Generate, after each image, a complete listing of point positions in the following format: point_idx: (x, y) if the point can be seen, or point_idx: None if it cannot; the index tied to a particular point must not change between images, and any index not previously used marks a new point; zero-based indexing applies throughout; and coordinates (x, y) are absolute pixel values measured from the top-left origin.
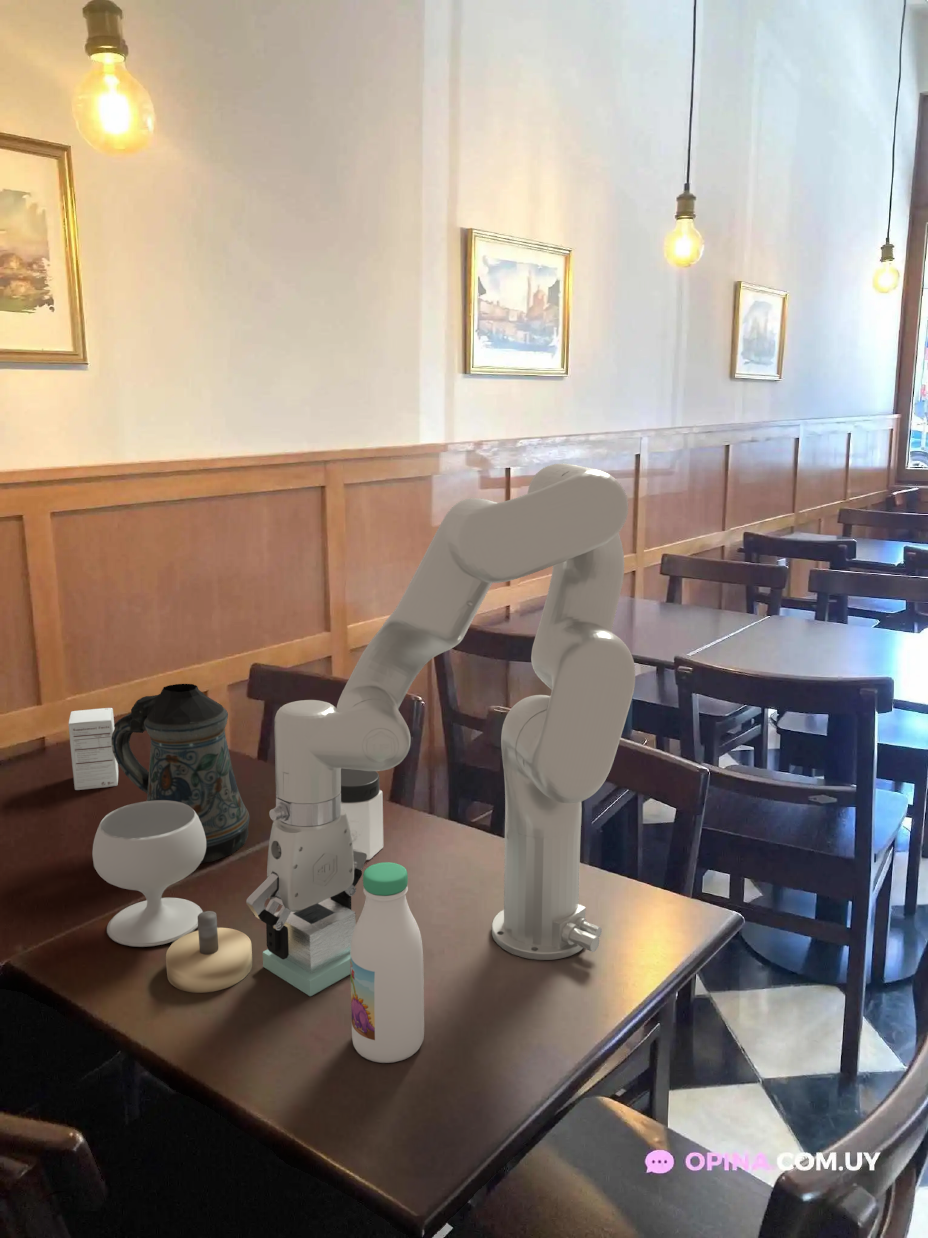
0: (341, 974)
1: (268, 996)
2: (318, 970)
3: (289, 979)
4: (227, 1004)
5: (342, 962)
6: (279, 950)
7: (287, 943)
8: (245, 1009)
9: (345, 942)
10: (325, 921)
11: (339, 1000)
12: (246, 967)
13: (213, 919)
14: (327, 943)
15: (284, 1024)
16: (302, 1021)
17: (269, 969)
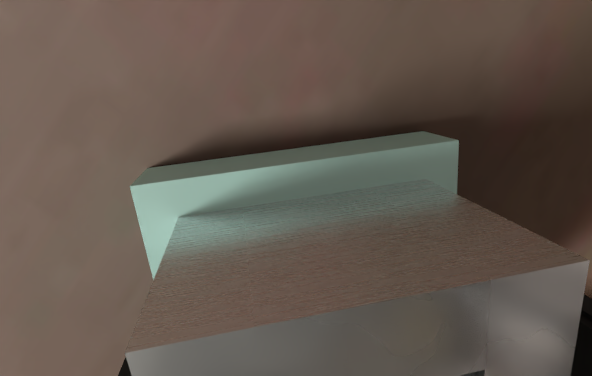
0: (287, 153)
1: (500, 215)
2: (392, 180)
3: None
4: (585, 249)
5: (286, 167)
6: None
7: (581, 310)
8: (574, 200)
9: (243, 231)
10: (397, 353)
11: (368, 40)
12: None
13: None
14: (377, 232)
15: (563, 57)
16: (522, 28)
17: None
